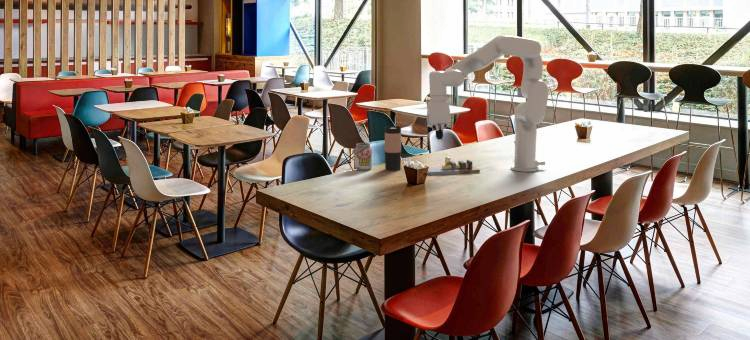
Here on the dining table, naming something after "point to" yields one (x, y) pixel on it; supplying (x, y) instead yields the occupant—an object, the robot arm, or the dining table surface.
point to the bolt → (450, 166)
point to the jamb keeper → (467, 170)
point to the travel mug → (392, 148)
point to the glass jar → (363, 156)
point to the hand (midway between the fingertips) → (439, 138)
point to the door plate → (443, 170)
